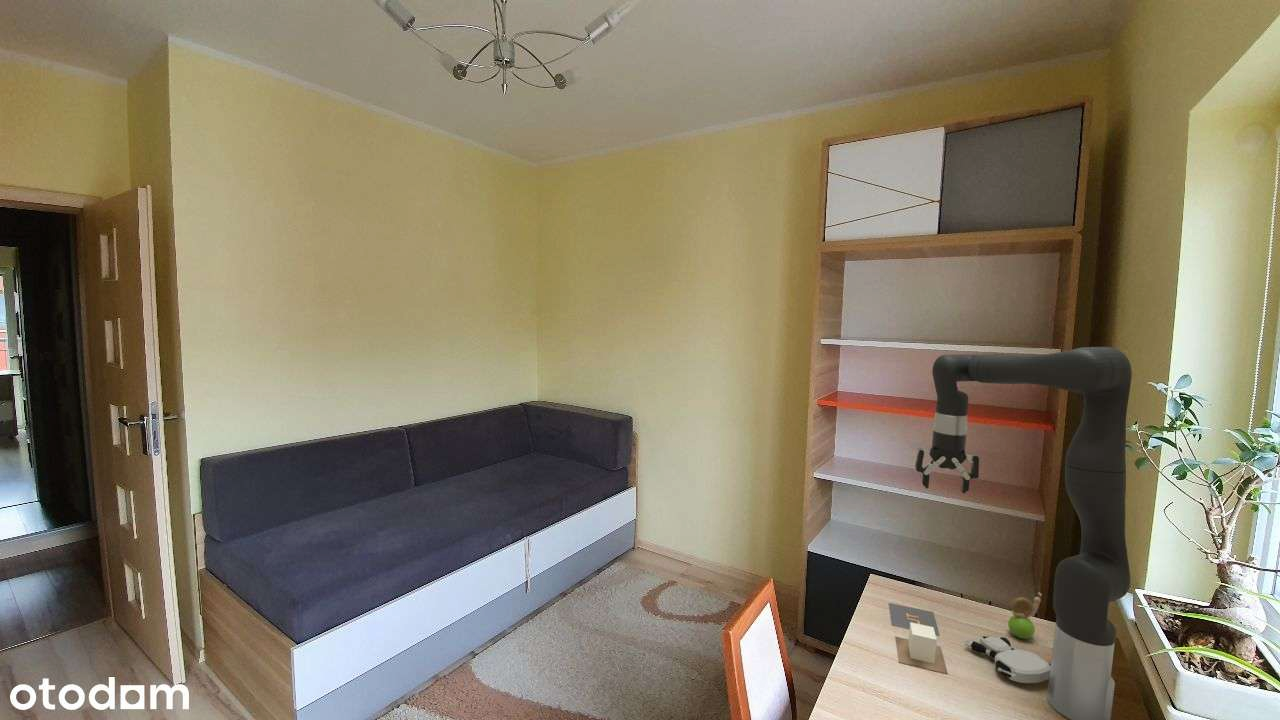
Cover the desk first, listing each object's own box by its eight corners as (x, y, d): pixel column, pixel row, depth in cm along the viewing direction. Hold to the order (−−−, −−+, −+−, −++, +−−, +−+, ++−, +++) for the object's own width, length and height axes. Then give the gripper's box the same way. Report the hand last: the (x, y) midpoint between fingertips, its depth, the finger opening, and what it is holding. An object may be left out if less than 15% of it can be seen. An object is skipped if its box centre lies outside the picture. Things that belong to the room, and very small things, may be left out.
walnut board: (940, 647, 127) (940, 646, 127) (947, 674, 118) (947, 673, 117) (895, 637, 130) (895, 636, 130) (898, 662, 121) (898, 661, 121)
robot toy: (959, 653, 126) (1015, 694, 112) (960, 634, 126) (1016, 673, 112) (1002, 646, 129) (1062, 686, 114) (1002, 629, 129) (1063, 666, 114)
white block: (931, 650, 125) (933, 627, 125) (934, 663, 121) (936, 639, 120) (908, 645, 127) (910, 622, 126) (910, 658, 122) (912, 634, 122)
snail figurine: (1042, 645, 128) (1047, 599, 127) (1014, 642, 129) (1019, 596, 128) (1030, 631, 134) (1034, 587, 132) (1002, 628, 135) (1007, 584, 133)
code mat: (933, 613, 141) (933, 611, 141) (939, 637, 131) (939, 636, 131) (888, 603, 145) (888, 602, 145) (891, 626, 135) (891, 625, 135)
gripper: (978, 429, 137) (972, 489, 139) (917, 424, 142) (912, 481, 144) (985, 436, 130) (979, 499, 132) (921, 430, 135) (916, 490, 137)
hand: (944, 489), depth 138 cm, fingers open, 8 cm apart
